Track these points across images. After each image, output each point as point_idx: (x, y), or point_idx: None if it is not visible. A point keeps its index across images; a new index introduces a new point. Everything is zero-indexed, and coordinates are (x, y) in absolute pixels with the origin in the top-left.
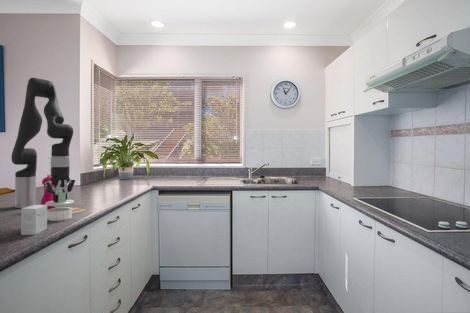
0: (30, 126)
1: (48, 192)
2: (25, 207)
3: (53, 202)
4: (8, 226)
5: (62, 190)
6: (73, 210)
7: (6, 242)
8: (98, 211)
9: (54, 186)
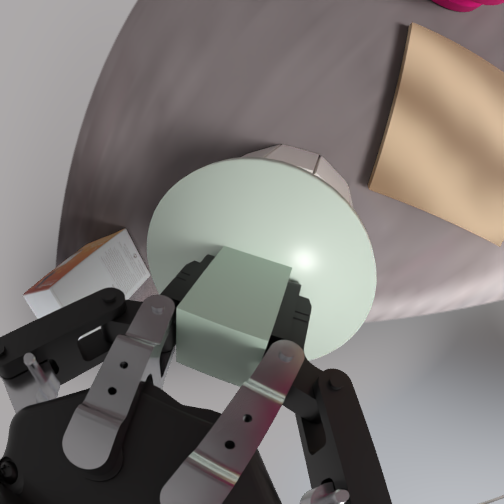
0: None
1: (98, 297)
2: (29, 295)
3: (203, 252)
4: (102, 92)
5: (257, 370)
6: (483, 163)
7: (58, 261)
8: (500, 289)
9: (120, 375)
